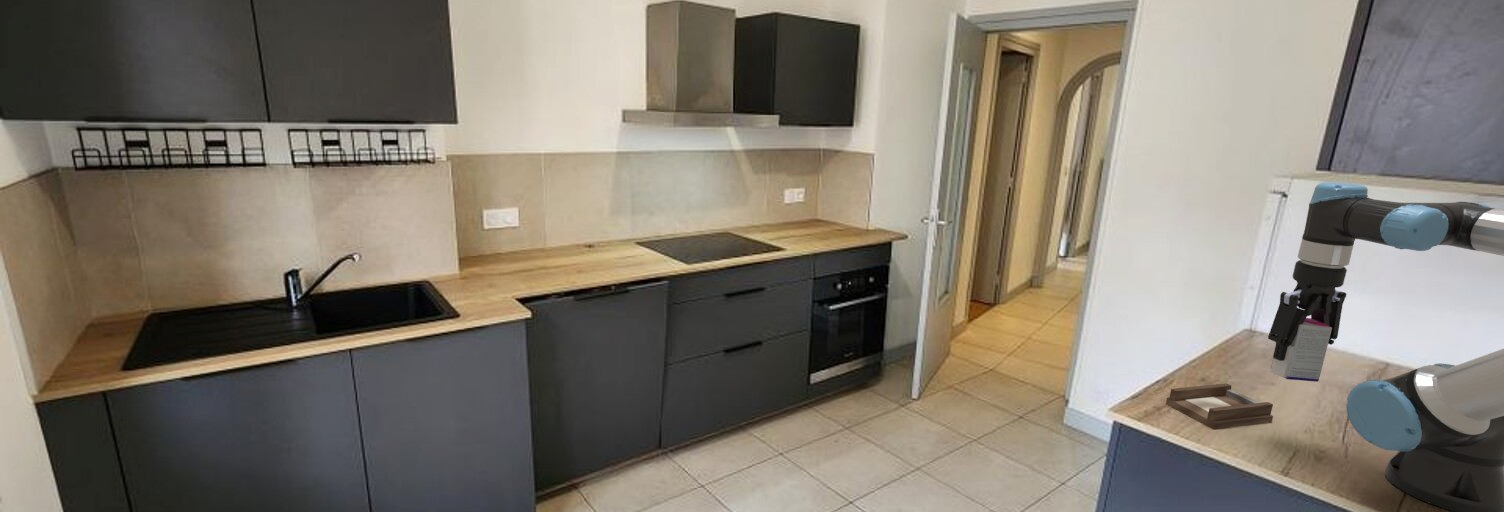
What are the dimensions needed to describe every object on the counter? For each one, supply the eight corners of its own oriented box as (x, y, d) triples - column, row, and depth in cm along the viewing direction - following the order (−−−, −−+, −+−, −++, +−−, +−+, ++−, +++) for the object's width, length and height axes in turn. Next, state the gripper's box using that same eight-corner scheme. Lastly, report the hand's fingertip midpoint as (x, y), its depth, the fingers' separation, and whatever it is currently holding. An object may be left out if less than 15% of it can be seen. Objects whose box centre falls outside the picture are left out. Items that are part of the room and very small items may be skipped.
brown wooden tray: (1271, 422, 141) (1275, 405, 140) (1213, 429, 137) (1217, 412, 136) (1221, 397, 152) (1224, 382, 151) (1165, 403, 148) (1169, 387, 147)
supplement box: (1320, 382, 126) (1333, 327, 123) (1285, 379, 127) (1298, 325, 124) (1301, 370, 131) (1314, 317, 128) (1269, 367, 132) (1280, 315, 130)
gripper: (1339, 256, 129) (1312, 362, 135) (1261, 260, 125) (1236, 369, 130) (1383, 266, 122) (1352, 377, 128) (1301, 270, 118) (1273, 385, 123)
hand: (1293, 373), depth 129 cm, fingers closed on supplement box, 7 cm apart
